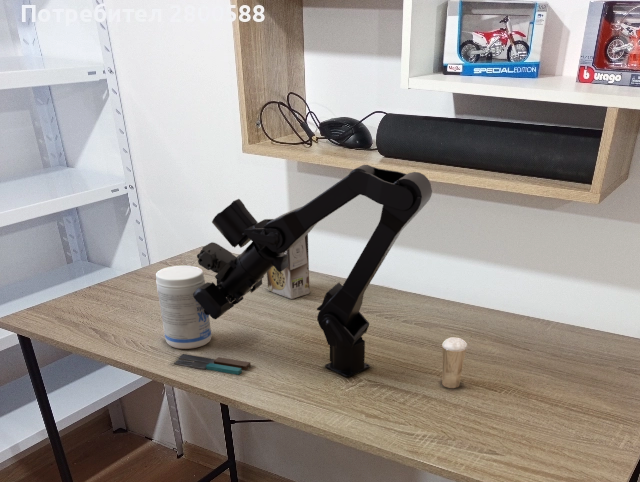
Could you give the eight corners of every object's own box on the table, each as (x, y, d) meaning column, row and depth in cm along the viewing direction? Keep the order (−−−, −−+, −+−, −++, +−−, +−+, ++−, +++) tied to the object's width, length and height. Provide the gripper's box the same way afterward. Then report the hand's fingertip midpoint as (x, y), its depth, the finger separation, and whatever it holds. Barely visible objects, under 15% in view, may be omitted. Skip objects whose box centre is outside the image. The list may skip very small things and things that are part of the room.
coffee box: (310, 293, 168) (309, 226, 159) (291, 299, 164) (288, 231, 155) (286, 284, 173) (283, 218, 164) (266, 290, 169) (262, 223, 160)
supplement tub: (213, 348, 141) (205, 278, 132) (165, 352, 139) (154, 281, 131) (210, 330, 148) (202, 263, 140) (165, 333, 147) (155, 265, 138)
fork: (242, 371, 132) (242, 367, 132) (238, 375, 131) (237, 371, 130) (179, 360, 136) (178, 356, 135) (173, 364, 134) (173, 360, 134)
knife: (250, 366, 134) (250, 362, 134) (246, 370, 133) (245, 366, 132) (183, 354, 138) (182, 350, 137) (178, 359, 136) (177, 354, 136)
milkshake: (460, 393, 126) (466, 343, 120) (434, 386, 128) (438, 336, 123) (470, 384, 129) (476, 334, 124) (445, 376, 132) (449, 328, 126)
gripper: (244, 219, 135) (201, 267, 144) (196, 245, 121) (151, 297, 130) (282, 263, 138) (237, 308, 147) (240, 294, 123) (193, 342, 132)
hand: (205, 312), depth 139 cm, fingers closed, pressing on supplement tub
